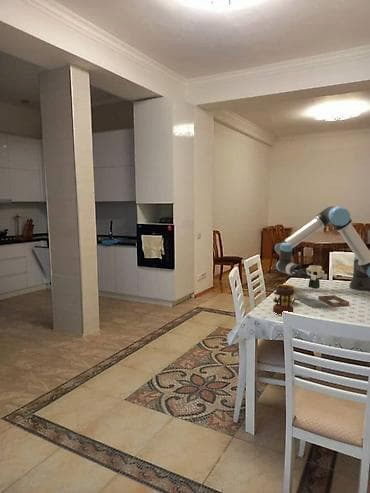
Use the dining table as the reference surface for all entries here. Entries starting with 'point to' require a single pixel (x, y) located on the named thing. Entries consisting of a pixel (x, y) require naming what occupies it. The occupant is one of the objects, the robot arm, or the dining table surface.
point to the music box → (284, 292)
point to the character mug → (316, 271)
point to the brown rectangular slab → (340, 303)
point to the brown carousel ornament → (287, 296)
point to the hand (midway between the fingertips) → (320, 277)
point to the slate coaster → (313, 303)
